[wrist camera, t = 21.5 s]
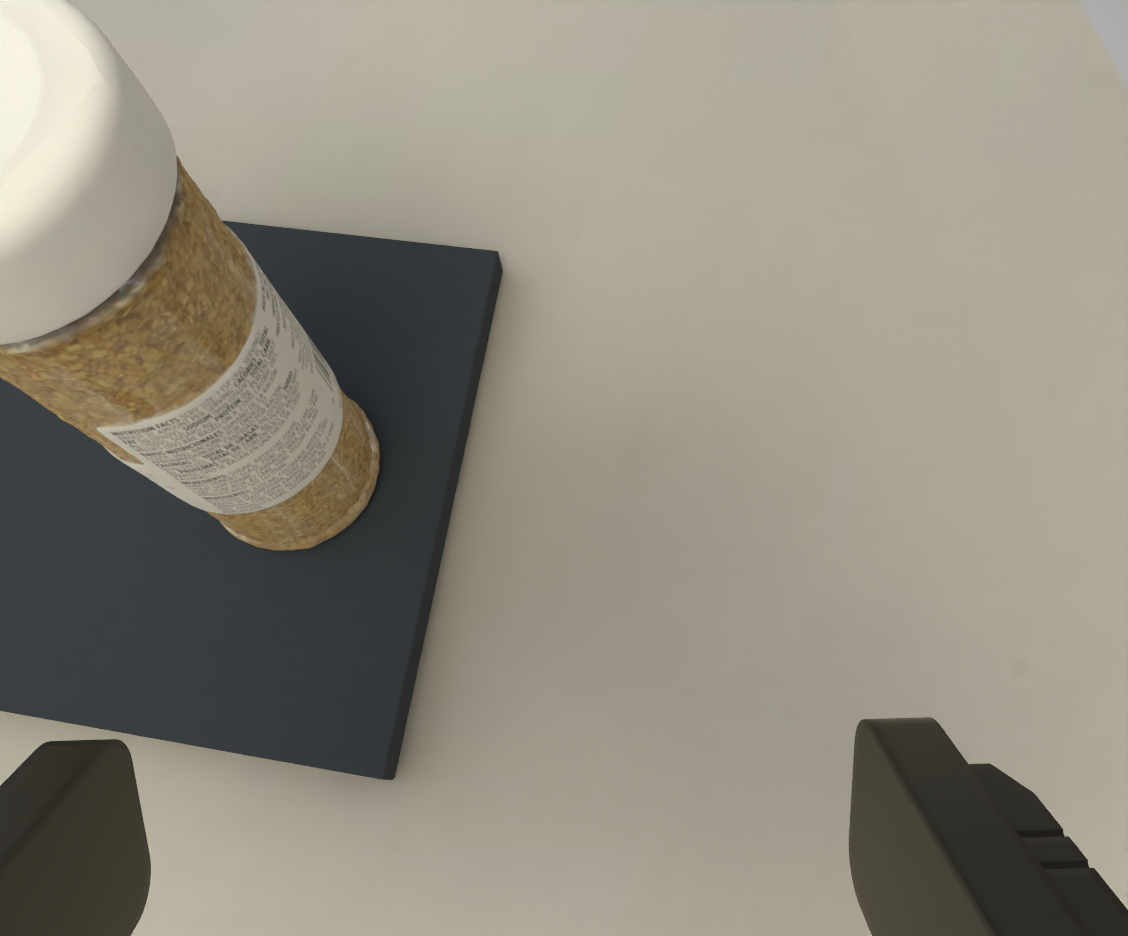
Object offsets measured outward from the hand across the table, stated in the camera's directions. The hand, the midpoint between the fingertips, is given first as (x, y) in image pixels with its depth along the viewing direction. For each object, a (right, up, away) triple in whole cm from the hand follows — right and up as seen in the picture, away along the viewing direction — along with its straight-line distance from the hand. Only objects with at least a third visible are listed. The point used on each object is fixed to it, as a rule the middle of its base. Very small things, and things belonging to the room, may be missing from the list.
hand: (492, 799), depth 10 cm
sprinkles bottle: (-6, +3, +14) cm, 15 cm away
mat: (-14, +4, +15) cm, 21 cm away
